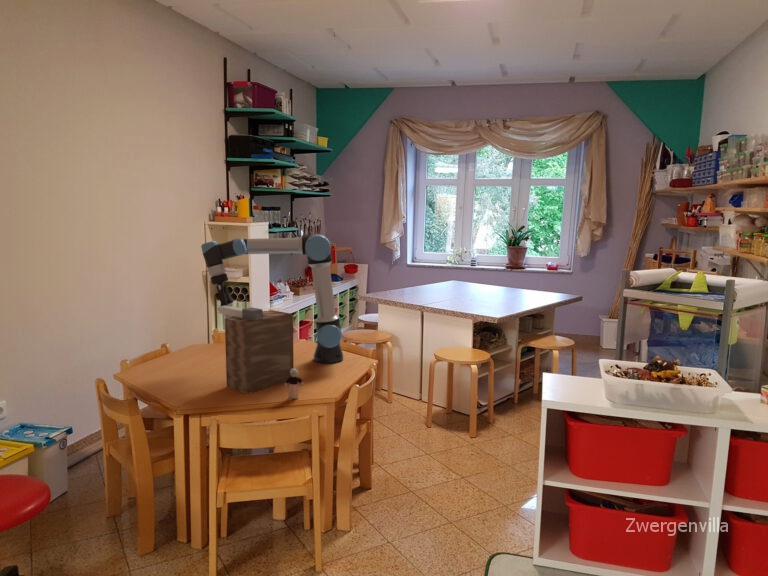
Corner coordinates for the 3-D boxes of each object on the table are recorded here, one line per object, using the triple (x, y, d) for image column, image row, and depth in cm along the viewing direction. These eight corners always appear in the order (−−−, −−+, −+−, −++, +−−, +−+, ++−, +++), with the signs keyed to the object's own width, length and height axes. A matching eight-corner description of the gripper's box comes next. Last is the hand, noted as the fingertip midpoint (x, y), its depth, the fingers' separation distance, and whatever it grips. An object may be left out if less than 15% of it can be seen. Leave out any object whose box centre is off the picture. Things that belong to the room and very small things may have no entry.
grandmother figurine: (286, 401, 223) (285, 370, 221) (283, 398, 227) (283, 368, 225) (304, 398, 226) (304, 368, 224) (302, 396, 230) (302, 366, 228)
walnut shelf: (226, 386, 240) (224, 318, 236) (272, 373, 260) (271, 309, 256) (247, 393, 232) (246, 322, 227) (293, 379, 252) (293, 313, 248)
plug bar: (214, 312, 247) (214, 303, 246) (224, 311, 251) (223, 302, 250) (253, 320, 231) (253, 310, 231) (262, 318, 235) (262, 309, 235)
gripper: (214, 275, 271) (226, 317, 273) (205, 277, 246) (219, 323, 248) (229, 271, 272) (241, 313, 274) (222, 273, 247) (236, 318, 249)
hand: (231, 318), depth 261 cm, fingers open, 13 cm apart
